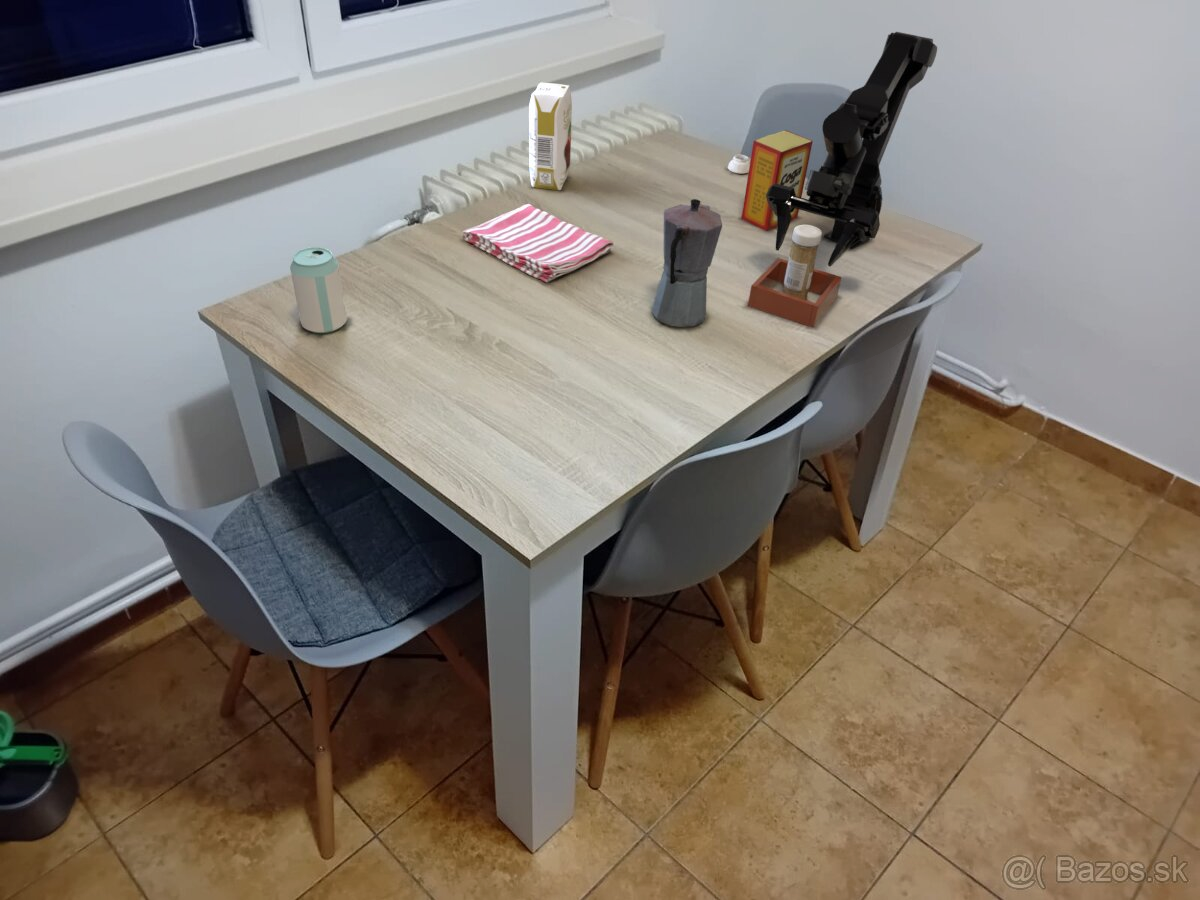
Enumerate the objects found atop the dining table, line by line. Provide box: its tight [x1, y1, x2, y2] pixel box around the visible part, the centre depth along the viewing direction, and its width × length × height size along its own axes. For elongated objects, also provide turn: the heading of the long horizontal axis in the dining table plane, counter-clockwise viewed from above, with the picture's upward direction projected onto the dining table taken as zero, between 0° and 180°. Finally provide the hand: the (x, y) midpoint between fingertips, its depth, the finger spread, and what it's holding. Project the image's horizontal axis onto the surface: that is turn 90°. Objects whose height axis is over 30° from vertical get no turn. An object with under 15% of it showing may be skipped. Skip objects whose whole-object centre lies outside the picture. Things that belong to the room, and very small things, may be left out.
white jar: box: [727, 153, 750, 175], centre depth 197 cm, size 5×3×5 cm
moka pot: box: [651, 198, 723, 328], centre depth 144 cm, size 10×15×20 cm, turn 161°
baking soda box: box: [740, 129, 814, 232], centre depth 175 cm, size 10×6×16 cm
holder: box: [747, 257, 843, 328], centre depth 155 cm, size 12×12×4 cm
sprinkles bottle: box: [781, 224, 823, 301], centre depth 152 cm, size 5×5×13 cm
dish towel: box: [461, 203, 615, 283], centre depth 166 cm, size 17×23×4 cm
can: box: [289, 246, 348, 334], centre depth 140 cm, size 7×7×12 cm
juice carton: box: [528, 81, 573, 191], centre depth 182 cm, size 8×9×19 cm
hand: (802, 257), depth 151 cm, fingers open, 9 cm apart
